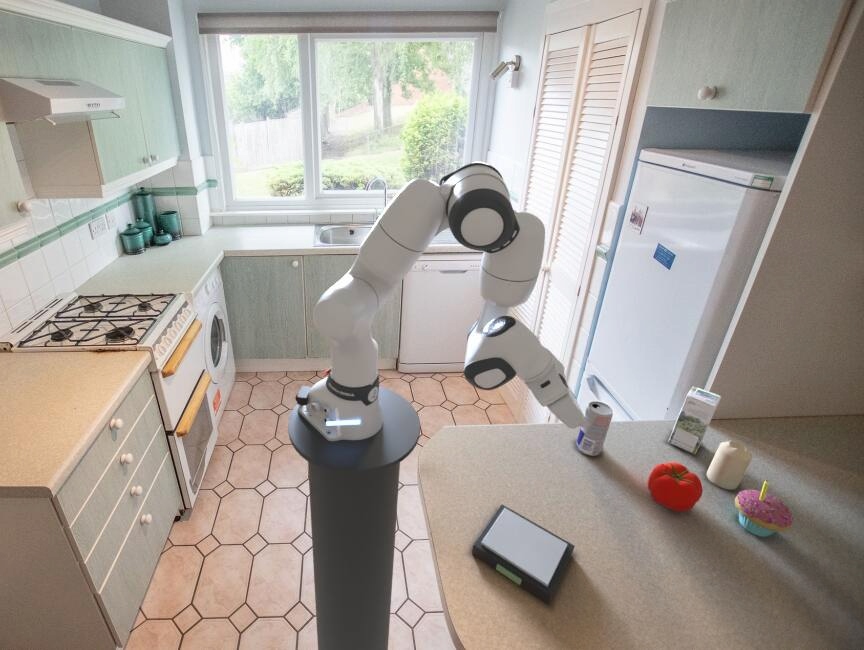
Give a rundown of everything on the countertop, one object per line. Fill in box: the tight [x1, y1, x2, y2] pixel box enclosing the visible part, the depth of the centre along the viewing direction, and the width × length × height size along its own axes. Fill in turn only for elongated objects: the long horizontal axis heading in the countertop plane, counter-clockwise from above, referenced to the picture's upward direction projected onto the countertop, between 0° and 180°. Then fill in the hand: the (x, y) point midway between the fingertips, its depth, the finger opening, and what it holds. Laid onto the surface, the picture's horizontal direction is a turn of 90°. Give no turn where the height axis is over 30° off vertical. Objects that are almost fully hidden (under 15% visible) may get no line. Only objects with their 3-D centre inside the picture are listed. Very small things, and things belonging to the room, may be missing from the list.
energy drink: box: [575, 400, 614, 457], centre depth 105 cm, size 5×5×12 cm
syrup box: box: [667, 385, 722, 455], centre depth 106 cm, size 6×6×14 cm
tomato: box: [647, 462, 703, 512], centre depth 93 cm, size 9×9×8 cm
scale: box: [471, 503, 575, 605], centre depth 82 cm, size 14×12×3 cm
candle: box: [706, 439, 754, 491], centre depth 97 cm, size 6×6×10 cm
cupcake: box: [734, 478, 795, 537], centre depth 86 cm, size 9×8×12 cm
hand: (578, 411), depth 103 cm, fingers open, 8 cm apart
